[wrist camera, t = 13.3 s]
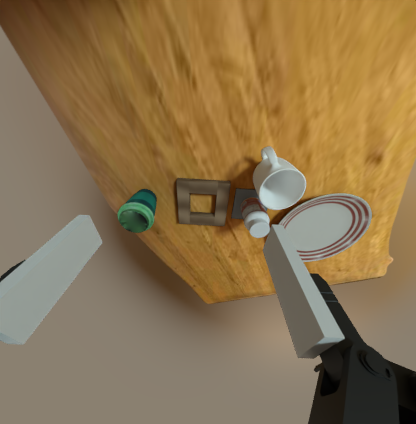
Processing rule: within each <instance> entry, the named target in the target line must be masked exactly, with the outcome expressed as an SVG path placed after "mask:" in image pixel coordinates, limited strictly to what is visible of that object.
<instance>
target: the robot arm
mask: <svg viewBox="0 0 416 424" xmlns="http://www.w3.org/2000/svg"><path fill="white" fill-rule="evenodd" d="M101 244H102V240H101V238H100V236H99V234H98V232H97V230H96V228H95V226H94V224H93V221H92V220H91V217H90V216H89V215H78V216H77V217H76V218H75V219H74V220H72V221H71V222H70V223H69V224H68V225H67V226H65V227H64V228H63V229H62V230H61V231H60V232H58V233H57V234H56V235H55V236H54V237H52V238H51V239H50V240H49V241H48V242H47V243H45V244H44V245H43V246H42V247H41V248H40V249H39V250H37V251H36V252H35V253H34V254H33V255H31V256H30V257H29V258H28V259H27V260H24V261H22V262H20V263H18V264H17V265H15V266H13V267H12V268H10V269H9V270H8V271H7V272H6V273H4V274H3V275H2V276H1V278H0V340H1V341H3V342H5V343H8V344H24V343H25V342H26V340H27V339H28V338H29V337H30V336H31V334H32V333H33V332H34V330H35V329H36V328H37V327H38V325H39V324H40V323H41V321H42V320H43V319H44V317H45V316H46V315H47V313H48V312H49V311H50V310H51V308H52V307H53V306H54V304H55V303H56V302H57V301H58V299H59V298H60V297H61V296H62V294H63V293H64V292H65V290H66V289H67V288H68V287H69V285H70V284H71V283H72V281H73V280H74V279H75V277H76V276H77V275H78V274H79V272H80V271H81V270H82V268H83V267H84V266H85V264H86V263H87V262H88V261H89V259H90V258H91V257H92V256H93V254H94V253H95V252H96V250H97V249H98V248H99V246H100V245H101ZM263 253H264V256H265V259H266V262H267V265H268V268H269V271H270V274H271V277H272V280H273V283H274V286H275V289H276V293H277V295H278V298H279V302H280V305H281V308H282V310H283V314H284V317H285V320H286V323H287V326H288V329H289V332H290V335H291V338H292V341H293V344H294V347H295V351H296V354H297V356H298V358H315V357H317V356H318V355H320V357H321V359H322V363H321V364H319V365H317V366H316V367H315V369H314V371H315V372H318V371H320V372H319V377H318V381H317V386H316V391H315V395H314V400H313V405H312V409H311V414H310V418H309V422H308V424H416V372H415V371H412V370H410V369H407V368H405V367H402V366H400V365H398V364H395V363H393V362H390V361H388V360H386V359H384V358H383V357H382V355H380V354H379V353H378V352H377V351H375V350H374V349H373V348H372V347H370V346H368V345H367V344H366V343H365V342H364V341H363V340H362V338H361V337H360V335H359V334H358V332H357V330H356V329H355V327H354V326H353V324H352V322H351V321H350V319H349V318H348V316H347V314H346V313H345V311H344V310H343V308H342V306H341V305H340V303H338V300H337V298H336V297H335V295H334V294H333V292H332V290H331V289H330V287H329V285H328V284H327V282H326V281H325V280H324V279H323V278H322V277H321V276H320V275H319V274H312V273H309V272H308V270H307V268H306V267H305V265H304V263H303V261H302V259H301V258H300V256H299V254H298V252H297V250H296V249H295V247H294V245H293V243H292V241H291V239H290V238H289V236H288V234H287V232H286V230H285V229H284V227H283V225H273V224H272V226H271V228H270V231H269V234H268V237H267V240H266V242H265V245H264V248H263Z"/></svg>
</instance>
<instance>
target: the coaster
mask: <svg viewBox="0 0 416 424" xmlns="http://www.w3.org/2000/svg"><path fill="white" fill-rule="evenodd" d="M249 197H255V198H258V199H259V200H260V198H259V196H258V194H257V192H256V190H254V189H238V188H236V193H235V199H234V205H233V211H232V216H231V218H235V219H243V216H242V213H241V208H240V207H241V203H242V202H243V201H244V200H245V199H247V198H249ZM263 206H264V205H263ZM264 208H265V210H266V211H267V207H265V206H264Z"/></svg>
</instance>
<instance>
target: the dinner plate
mask: <svg viewBox="0 0 416 424" xmlns="http://www.w3.org/2000/svg"><path fill="white" fill-rule="evenodd" d="M371 218H372V213H371V208H370V206H369V205H368V203H367V202H366V201H365V200H363V199H362V198H360V197H358V196H355V195H351V194H343V193H339V194H329V195H324V196H320V197H317V198H314V199H311V200H309V201H306V202H304V203H302V204H301V205H299V206H297V207H296V208H294V209H293V210H291V211H290V212H289V213H288V214H287V215H286V216H285V217H284V218H283V219H282V220H281V221H280V223H279V224H278V225H283V227H284V229H285V230H286V232H287V234H288V236H289V238H290V239H291V241H292V243H293V245H294V247H295V249H296V250H297V252H298V254H299V256H300V258H301V259H302V261H303V262H308V261H317V260H321V259H325V258H328V257H331V256H334V255H336V254H338V253H340V252H342V251H344V250H346V249H347V248H349V247H350V246H352V245H353V244H354V243H356V242H357V241H358V240H359V239H360V238H361V237H362V236H363V235H364V233H365V232H366V231H367V229H368V227H369V225H370V222H371Z"/></svg>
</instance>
